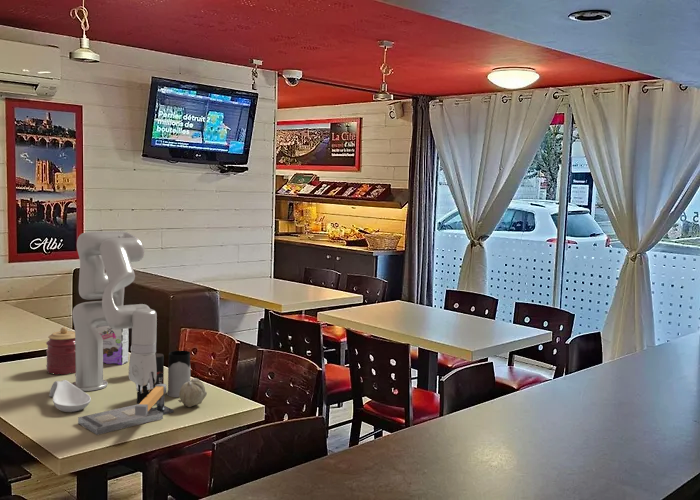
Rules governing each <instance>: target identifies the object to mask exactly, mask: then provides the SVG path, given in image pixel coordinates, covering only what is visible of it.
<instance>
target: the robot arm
mask: <svg viewBox="0 0 700 500" xmlns="http://www.w3.org/2000/svg"><path fill="white" fill-rule="evenodd" d="M76 250H77V255H78V258H79V276H78V294H79V296H80V297H81V299H83V300H94V301H85V302H81V303H78V304H76V305H75V306H74V307H73V309H72V316H71V317H72V322H73V326H74V332H75V352H76V372H75V373H74V374H75V375H74V377H75V381H74V382H72V383H71V384H73V385H74V386H76V387H77V388H79V389H80V390H82V391H84V392H90V391H92V392H93V391H98V390H102V389H104V388H106V387H107V386H108V381H107V380H106V379H104V363H103V338H102V336H101V335H100V333H99V332H98V331H97V330H96V328H97V327H102V326H109V327H110V328H112V329H115V330H118V329H127V328H129V329H131V346H132V351H131V350H130V351H131V352H130V355H129V361H128V363H129V366H128V379H129V380H130V381H131V382H133V383H135V389H136V403H137V404H139V403H140V402H141V401H142V400H143V399H144V398H145V397H146V396H147V395H148V394H149V391H150V390H151V389H153V384H155V383H156V376H157V369H156V356H155V353H157V329H158V328H157V325H158V324H157V322H158V321H157V320H158V319H157V317H158V315H157V311H156V310H155V309H152V308H150V306H149V305H147V304H145V303H144V304H143V303H139V304H136V303H135V304H125V305H124V303H125V302H124V300H125V299H124V298H125V288H126V287H128V286H130V285H131V284H132V283H133V282H134V281H135V279H136V273H135V271H134V268H133V265H132V263H137V262H140V261H142V260H143V258H144V255H145V248H144V245H143V243H142V241H141V240H140V239H139V237H137V236H135V235H134V234H131V233H130V232H128V231H119V230H116V231H108V230H107V231H106V230H105V231H104V230H103V231H98V230H97V231H86V232H83V233H80V234H79V236H78V237H77V240H76ZM95 300H96V301H95ZM137 404H136V405H137Z"/></svg>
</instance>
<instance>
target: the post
mask: <svg viewBox="0 0 700 500" xmlns="http://www.w3.org/2000/svg"><path fill="white" fill-rule="evenodd" d="M153 408H154V409H156V410H158V411H160V412H162V413H163V415H168V414H171V413H174V409H173V408H171V407H168V406H166V405H165V394H163V395H162V396H161V397H160V399H159V400H158V401H157V402H156V407H153Z"/></svg>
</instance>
